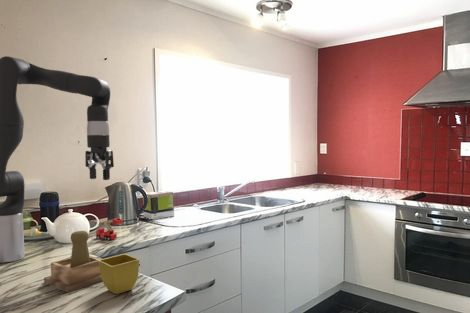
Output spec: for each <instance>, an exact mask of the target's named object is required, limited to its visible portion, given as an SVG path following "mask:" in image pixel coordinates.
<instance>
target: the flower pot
mask: <svg viewBox="0 0 470 313" xmlns="http://www.w3.org/2000/svg"><path fill="white" fill-rule="evenodd" d="M98 262H99V268H100V273H101V278H102V281H101V282H102V283H103V285H104V286H105V288H106V289H107V290H108V291H109V292H111V293H113V294H115V295H118V294H121V293H125V292H128V291H131V290H133V288H134V287H135V284H136V282H137V280H138V277H139V270H140V269H139V267H140V259H139V258H137V257H135V256H131V255H129V254H126V253H122V254H119V255H116V256H115V255H114V256H111V257H108V258H103V259H102V258H101V260H99V261H98Z"/></svg>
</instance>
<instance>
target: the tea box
mask: <svg viewBox="0 0 470 313" xmlns="http://www.w3.org/2000/svg"><path fill="white" fill-rule="evenodd" d="M145 193H146V194H147V196H148V204H147V207H146V208H145V210H144V209H143V217H147V218H150V219H153V220H159V219H163V218H169V217H174V216H175V209H174V192H173V191H168V190H160V191H153V192H145ZM142 199H143V200H142V202H143V205H144V197H143V196H142ZM147 218H146V219H147ZM150 219H149V220H150Z"/></svg>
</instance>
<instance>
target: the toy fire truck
mask: <svg viewBox="0 0 470 313" xmlns="http://www.w3.org/2000/svg"><path fill="white" fill-rule="evenodd" d="M111 223H112V225H114V226H115V225H116V226H117V225H121V224H122V225H123V219H121V218H118V217H116V218H112V219H109V220H106V221H104V222H103V225H104V227H101V228H97V229H96V232H95V237H96V239H98V240H100V239H103V240H106V241H107V240H108V241H110V240H114V239H117V237H118V235H117V233H115V232H114V230H115V229H113V228H112V226H111ZM105 228H106V229H107V230H106V231H105Z"/></svg>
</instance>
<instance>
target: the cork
mask: <svg viewBox="0 0 470 313" xmlns="http://www.w3.org/2000/svg"><path fill="white" fill-rule="evenodd" d="M89 236H90V235H89V233H88V232H87V230H86V231H85V230H77V231H73V232H72V233H71V234H70V241H71V243H72V248H71V257H70V258H71V265H70V268H72V267H76V266H79V265H83V264H86V263H90V256H91V255H90V252H89V246H88V240H89V238H90V237H89Z"/></svg>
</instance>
